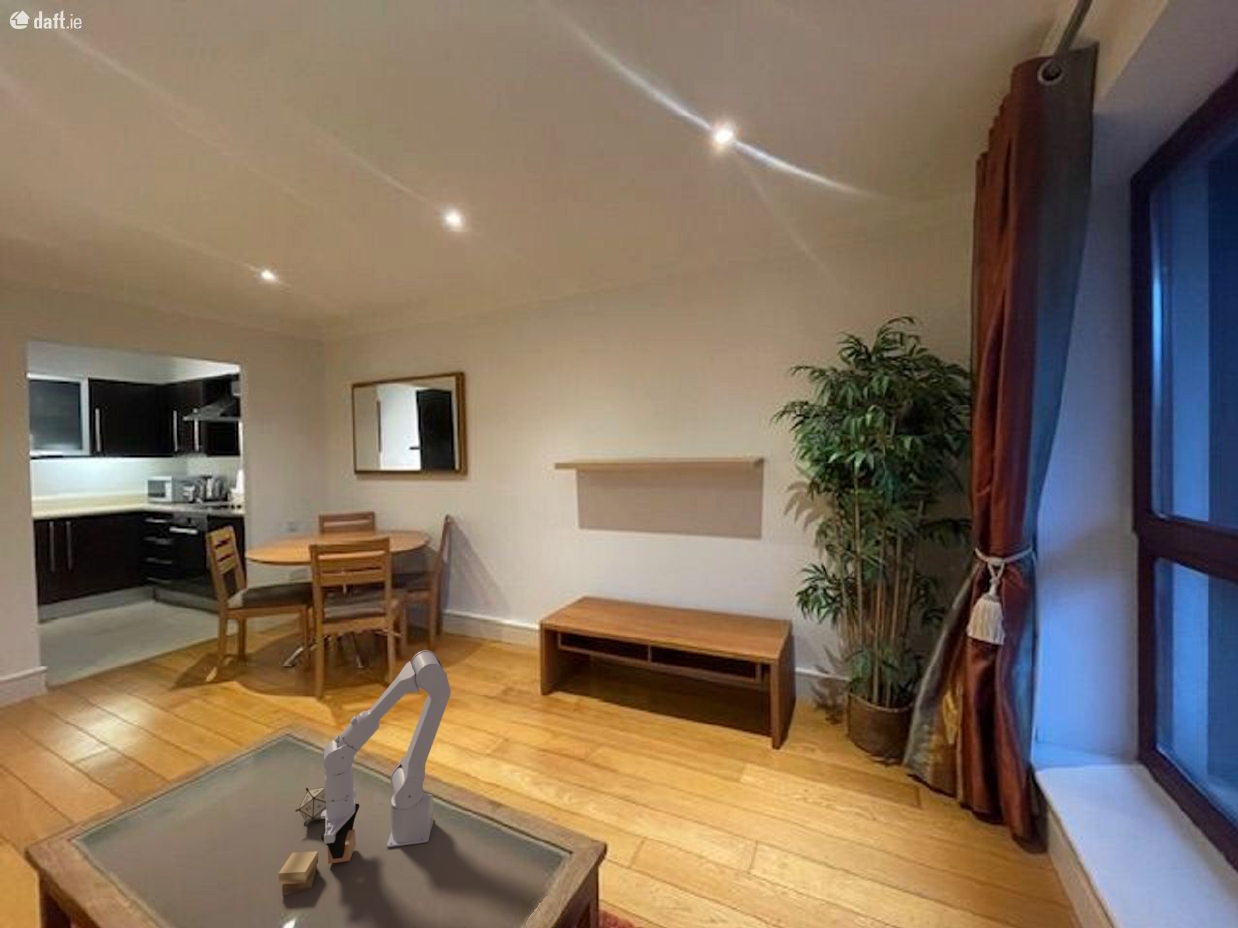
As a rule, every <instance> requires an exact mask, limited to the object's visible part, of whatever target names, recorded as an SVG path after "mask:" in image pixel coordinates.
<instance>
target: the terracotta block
mask: <svg viewBox="0 0 1238 928" xmlns="http://www.w3.org/2000/svg"><path fill="white" fill-rule="evenodd" d="M356 843H357V842H356V829H355V828H354V829H353V830H349V832H348V834H347V837H346V842H345V851H344V855H343V857H342V858H338V859H333V858H332V855H331V853H330V850H329V848H328V846H327V863H328V865H329V864H335V863H337V864H338V863H343V862H350V860H351V858H352V856H353V853H354V850H355V849H356V846H357V844H356Z"/></svg>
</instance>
